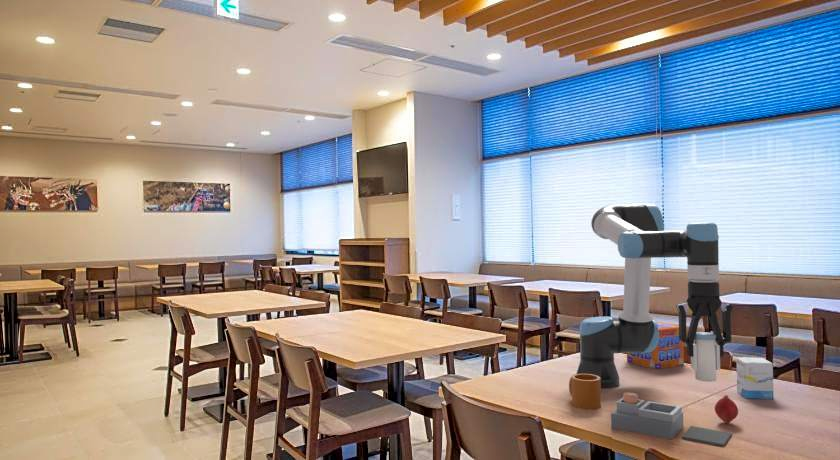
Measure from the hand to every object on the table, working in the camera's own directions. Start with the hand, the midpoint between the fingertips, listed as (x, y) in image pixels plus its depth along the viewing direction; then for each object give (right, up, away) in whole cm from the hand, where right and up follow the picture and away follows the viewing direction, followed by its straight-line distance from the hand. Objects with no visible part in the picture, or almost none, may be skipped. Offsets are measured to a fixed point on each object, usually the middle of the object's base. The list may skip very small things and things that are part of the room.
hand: (705, 368), depth 153 cm
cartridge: (0, -3, 0) cm, 3 cm away
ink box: (+34, -18, +37) cm, 53 cm away
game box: (+21, -18, +84) cm, 89 cm away
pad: (0, -18, 0) cm, 18 cm away
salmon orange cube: (-16, -14, +11) cm, 24 cm away
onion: (+11, -18, +11) cm, 24 cm away
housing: (-12, -18, +9) cm, 24 cm away
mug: (-23, -19, +31) cm, 43 cm away
